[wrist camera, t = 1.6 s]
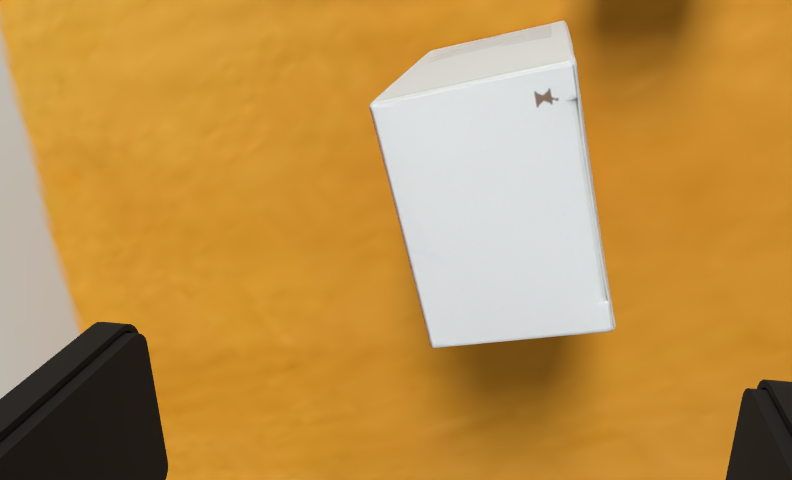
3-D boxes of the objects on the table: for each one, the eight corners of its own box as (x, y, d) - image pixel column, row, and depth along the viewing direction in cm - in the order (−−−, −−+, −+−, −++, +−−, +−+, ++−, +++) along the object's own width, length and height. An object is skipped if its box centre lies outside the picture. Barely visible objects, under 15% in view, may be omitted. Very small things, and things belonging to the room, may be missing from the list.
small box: (427, 49, 28) (362, 96, 18) (568, 17, 26) (576, 51, 17) (466, 230, 30) (426, 354, 21) (596, 211, 29) (617, 337, 19)
